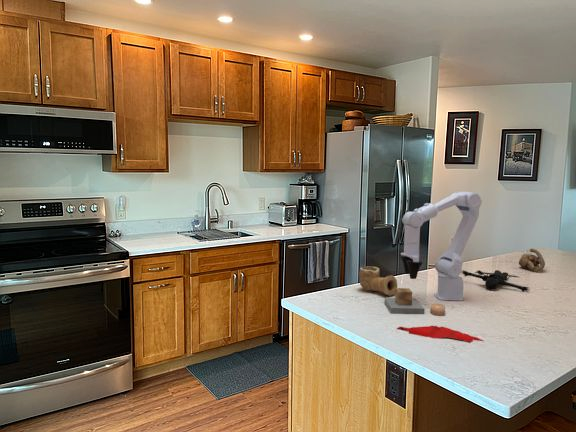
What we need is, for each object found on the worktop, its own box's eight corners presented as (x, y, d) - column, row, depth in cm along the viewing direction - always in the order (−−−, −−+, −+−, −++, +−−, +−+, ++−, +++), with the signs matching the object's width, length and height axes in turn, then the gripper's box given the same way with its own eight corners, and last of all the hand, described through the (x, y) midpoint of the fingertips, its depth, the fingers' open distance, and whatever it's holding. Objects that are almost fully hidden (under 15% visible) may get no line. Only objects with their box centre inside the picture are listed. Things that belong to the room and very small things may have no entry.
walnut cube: (408, 301, 163) (408, 288, 162) (411, 305, 158) (412, 292, 157) (395, 300, 163) (395, 288, 162) (398, 305, 158) (398, 291, 157)
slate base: (415, 303, 166) (415, 298, 166) (424, 313, 154) (424, 308, 154) (384, 303, 166) (384, 298, 166) (390, 313, 155) (391, 307, 154)
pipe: (386, 298, 172) (387, 274, 171) (353, 290, 184) (354, 267, 182) (398, 294, 179) (399, 271, 177) (366, 286, 190) (366, 264, 189)
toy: (469, 272, 218) (454, 282, 193) (472, 258, 217) (458, 266, 192) (533, 289, 202) (525, 302, 177) (536, 275, 201) (529, 286, 176)
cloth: (487, 337, 135) (488, 330, 134) (480, 353, 123) (481, 345, 123) (405, 321, 149) (406, 314, 148) (392, 333, 137) (392, 326, 137)
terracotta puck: (442, 311, 158) (442, 303, 157) (446, 316, 153) (447, 308, 152) (428, 311, 158) (428, 303, 157) (432, 315, 153) (432, 307, 152)
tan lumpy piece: (522, 274, 233) (541, 275, 219) (509, 264, 233) (528, 264, 218) (534, 256, 235) (554, 255, 220) (522, 246, 235) (541, 245, 220)
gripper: (397, 239, 175) (396, 271, 177) (406, 245, 161) (404, 280, 162) (414, 239, 175) (413, 271, 176) (425, 245, 161) (423, 281, 162)
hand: (410, 276), depth 169 cm, fingers open, 7 cm apart
